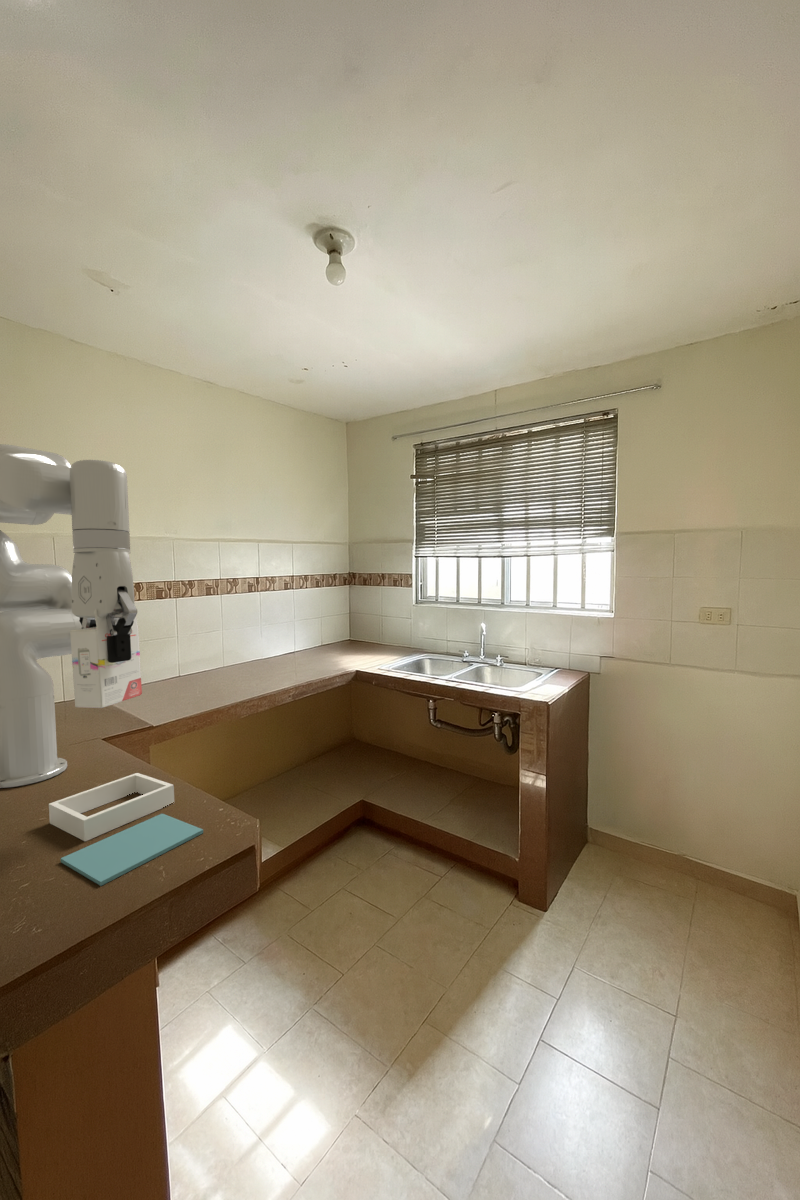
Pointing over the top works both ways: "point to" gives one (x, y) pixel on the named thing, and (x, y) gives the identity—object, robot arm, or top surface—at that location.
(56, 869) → the top surface
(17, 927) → the top surface
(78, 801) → the white rectangular frame
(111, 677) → the ink cartridge box
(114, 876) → the mat
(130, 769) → the top surface
